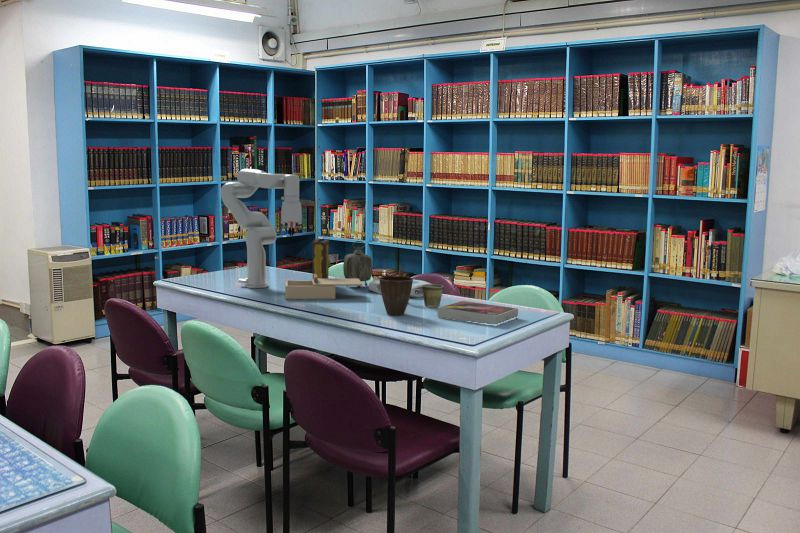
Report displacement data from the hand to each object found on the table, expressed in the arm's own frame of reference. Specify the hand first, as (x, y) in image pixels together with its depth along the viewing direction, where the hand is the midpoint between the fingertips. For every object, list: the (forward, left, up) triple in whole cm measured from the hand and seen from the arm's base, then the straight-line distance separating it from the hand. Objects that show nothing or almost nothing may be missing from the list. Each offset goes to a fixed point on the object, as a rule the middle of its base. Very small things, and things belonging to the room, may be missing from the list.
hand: (291, 235), depth 359 cm
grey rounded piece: (+36, +16, -29) cm, 49 cm away
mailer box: (+9, -12, -29) cm, 33 cm away
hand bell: (+52, -27, -29) cm, 66 cm away
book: (+16, +18, -29) cm, 38 cm away
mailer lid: (+22, -12, -22) cm, 34 cm away
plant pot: (+45, -57, -29) cm, 78 cm away
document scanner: (+57, -2, -30) cm, 64 cm away
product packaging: (+80, -67, -30) cm, 109 cm away
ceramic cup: (+66, -39, -29) cm, 82 cm away
